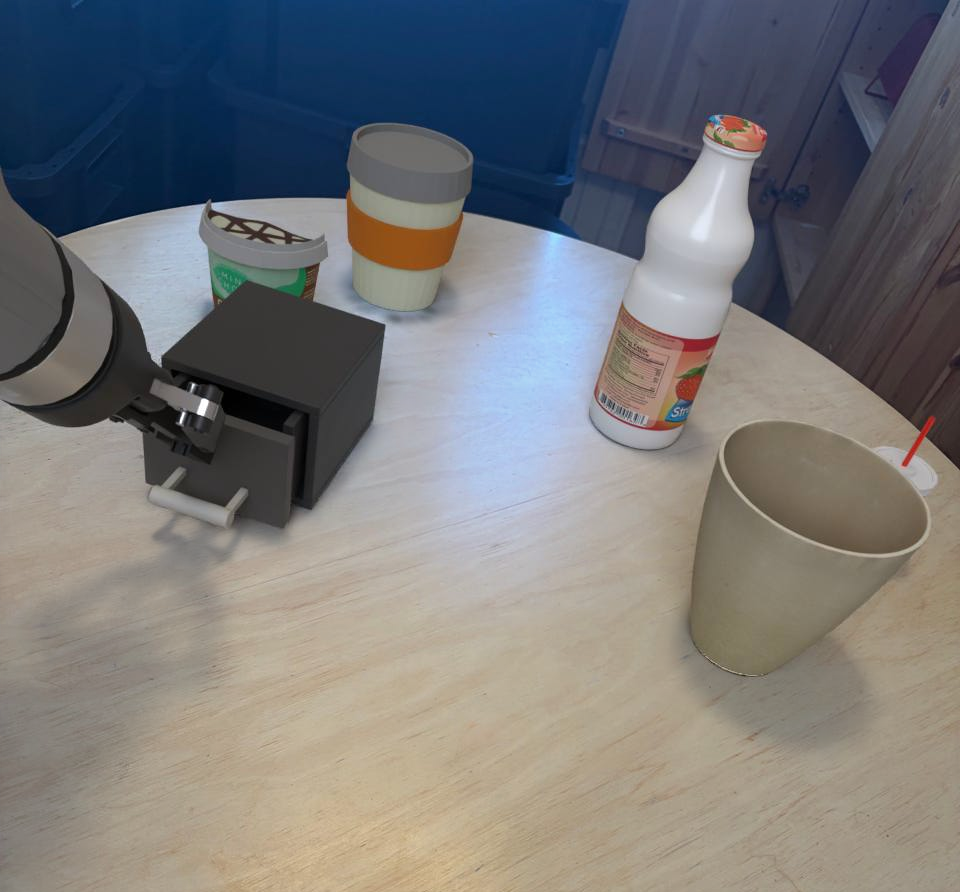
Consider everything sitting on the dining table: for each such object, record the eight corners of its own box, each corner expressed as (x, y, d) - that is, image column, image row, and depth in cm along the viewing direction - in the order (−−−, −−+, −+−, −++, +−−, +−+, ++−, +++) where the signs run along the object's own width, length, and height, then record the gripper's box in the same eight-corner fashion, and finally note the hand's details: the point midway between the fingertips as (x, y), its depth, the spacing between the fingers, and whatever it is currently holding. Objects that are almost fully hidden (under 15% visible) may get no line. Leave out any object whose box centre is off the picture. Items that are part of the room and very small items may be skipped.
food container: (177, 324, 94) (174, 220, 87) (205, 297, 98) (204, 197, 91) (299, 361, 94) (306, 260, 86) (322, 333, 98) (330, 235, 91)
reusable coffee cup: (318, 265, 108) (330, 120, 97) (421, 260, 113) (443, 123, 103) (362, 323, 101) (379, 174, 90) (470, 316, 106) (498, 174, 96)
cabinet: (311, 510, 79) (320, 408, 72) (165, 462, 79) (160, 356, 73) (373, 420, 89) (386, 324, 82) (243, 378, 90) (246, 279, 83)
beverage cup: (893, 546, 91) (975, 418, 81) (878, 579, 87) (963, 448, 77) (832, 516, 92) (905, 387, 83) (814, 548, 88) (889, 416, 79)
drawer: (260, 562, 72) (263, 476, 67) (116, 513, 73) (108, 425, 67) (346, 440, 85) (356, 359, 79) (223, 399, 85) (224, 317, 80)
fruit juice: (588, 389, 100) (678, 93, 81) (677, 409, 101) (788, 120, 81) (586, 440, 94) (684, 131, 74) (681, 461, 94) (803, 160, 75)
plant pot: (693, 726, 70) (784, 560, 59) (617, 583, 80) (684, 417, 68) (863, 707, 75) (977, 550, 64) (773, 574, 84) (859, 418, 73)
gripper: (-112, 364, 47) (104, 465, 70) (141, 449, 46) (274, 522, 69) (-60, 215, 47) (139, 366, 70) (194, 297, 46) (309, 422, 70)
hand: (206, 444), depth 70 cm, fingers closed
